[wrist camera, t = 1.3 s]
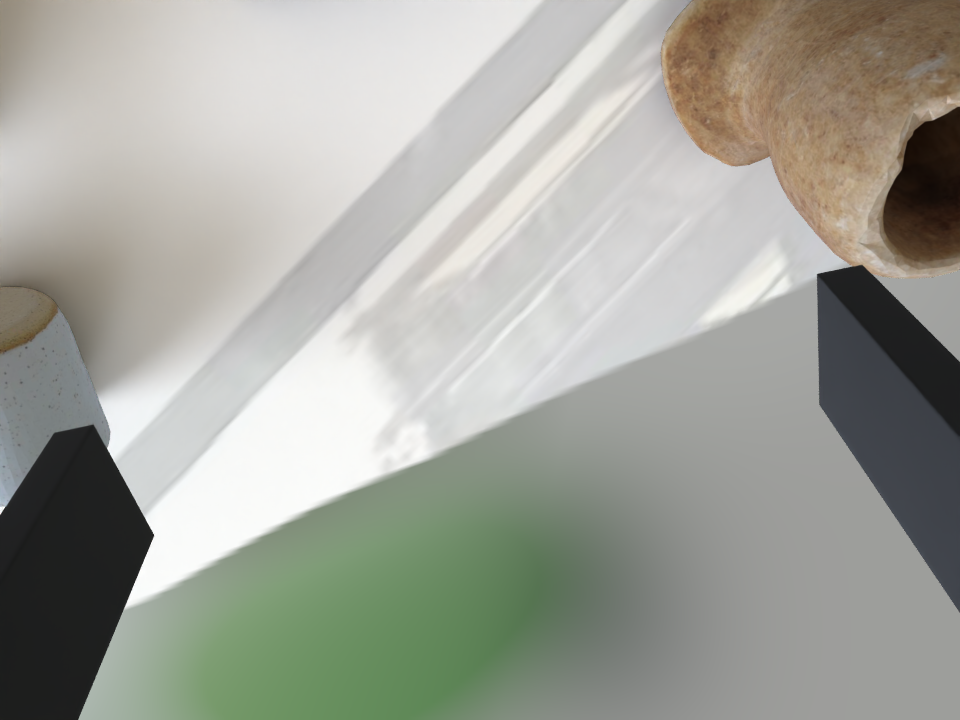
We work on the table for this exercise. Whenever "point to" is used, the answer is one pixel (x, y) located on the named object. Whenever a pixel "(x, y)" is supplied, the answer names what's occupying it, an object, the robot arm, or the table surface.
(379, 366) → the table surface
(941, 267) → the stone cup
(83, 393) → the ceramic mug
